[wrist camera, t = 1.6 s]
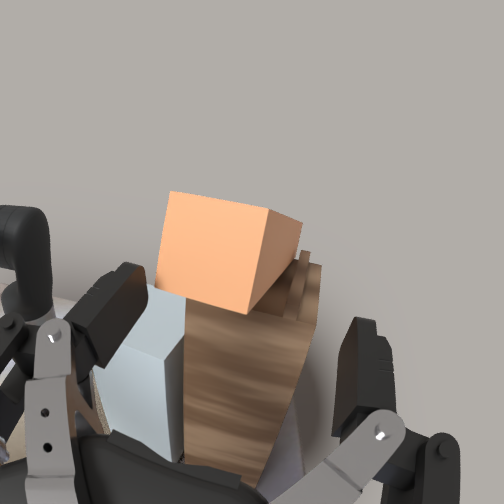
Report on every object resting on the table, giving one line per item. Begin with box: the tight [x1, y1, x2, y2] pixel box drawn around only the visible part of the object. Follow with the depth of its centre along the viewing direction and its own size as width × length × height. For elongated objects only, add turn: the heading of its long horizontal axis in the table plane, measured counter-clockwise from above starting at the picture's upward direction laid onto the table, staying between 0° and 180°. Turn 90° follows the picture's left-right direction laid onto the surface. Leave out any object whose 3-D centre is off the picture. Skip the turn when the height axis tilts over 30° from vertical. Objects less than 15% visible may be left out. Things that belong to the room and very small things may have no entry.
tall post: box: [183, 250, 322, 489], centre depth 33 cm, size 12×10×33 cm
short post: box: [93, 284, 186, 463], centre depth 37 cm, size 12×10×24 cm
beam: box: [154, 191, 303, 315], centre depth 23 cm, size 24×4×4 cm, turn 165°
